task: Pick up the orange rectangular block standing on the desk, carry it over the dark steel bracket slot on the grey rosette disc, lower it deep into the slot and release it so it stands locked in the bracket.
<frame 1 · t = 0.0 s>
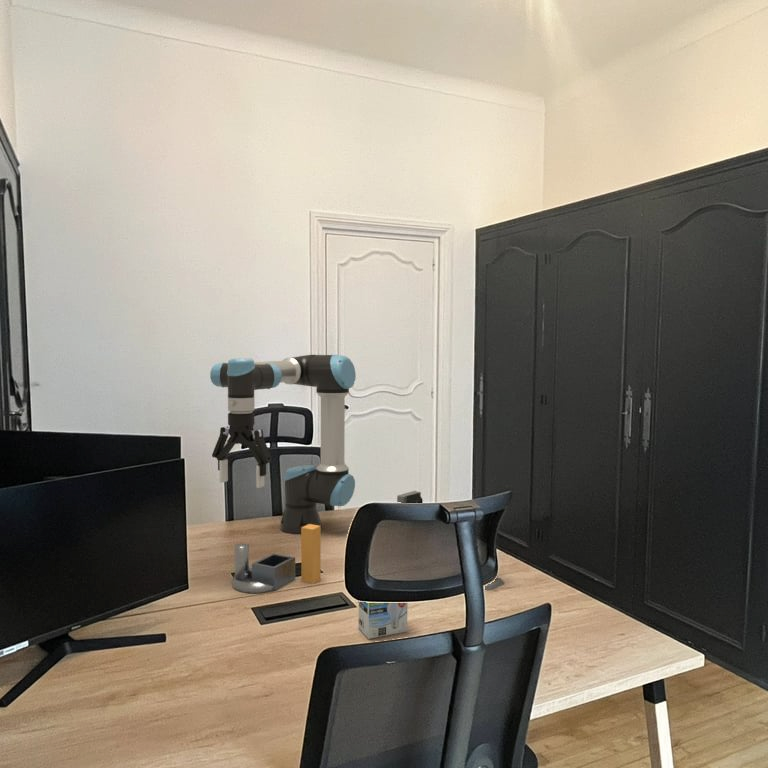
hand: (241, 484, 185), 28 cm above the table, fingers open, 13 cm apart
light bulb box: (382, 630, 155), on the table
orange rectangular block: (311, 580, 186), on the table
clamp: (449, 572, 193), on the table
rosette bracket: (258, 583, 183), on the table
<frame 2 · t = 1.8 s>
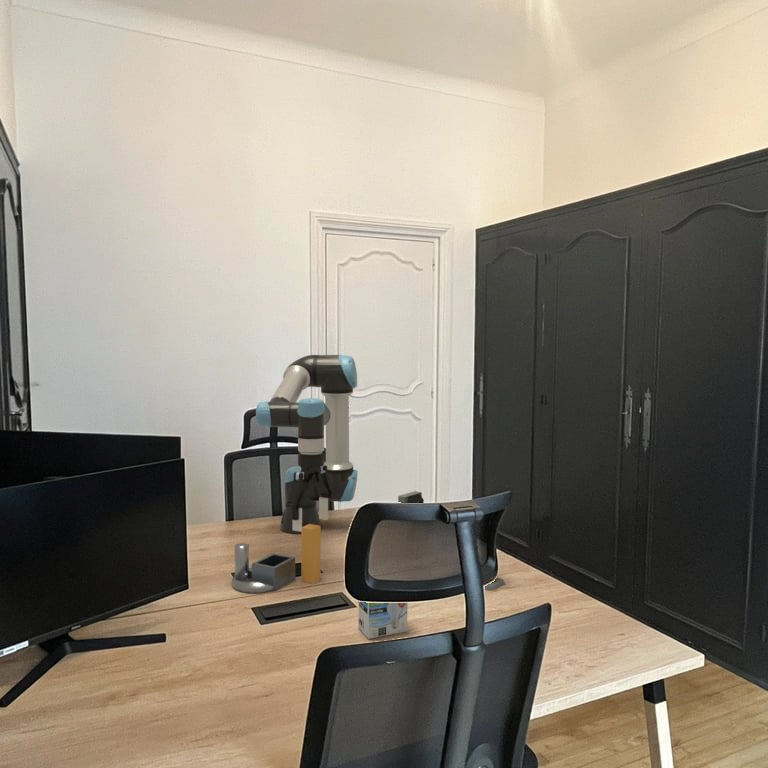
hand: (310, 524, 184), 17 cm above the table, fingers open, 13 cm apart
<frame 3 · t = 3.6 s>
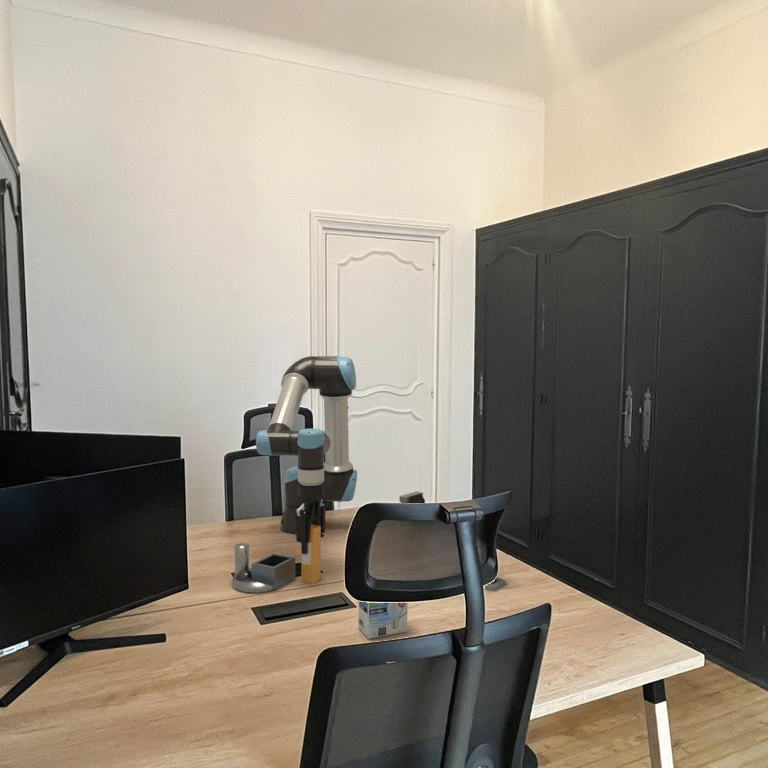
hand: (311, 561, 185), 6 cm above the table, fingers closed on orange rectangular block, 4 cm apart
orange rectangular block: (311, 580, 186), on the table, touching gripper
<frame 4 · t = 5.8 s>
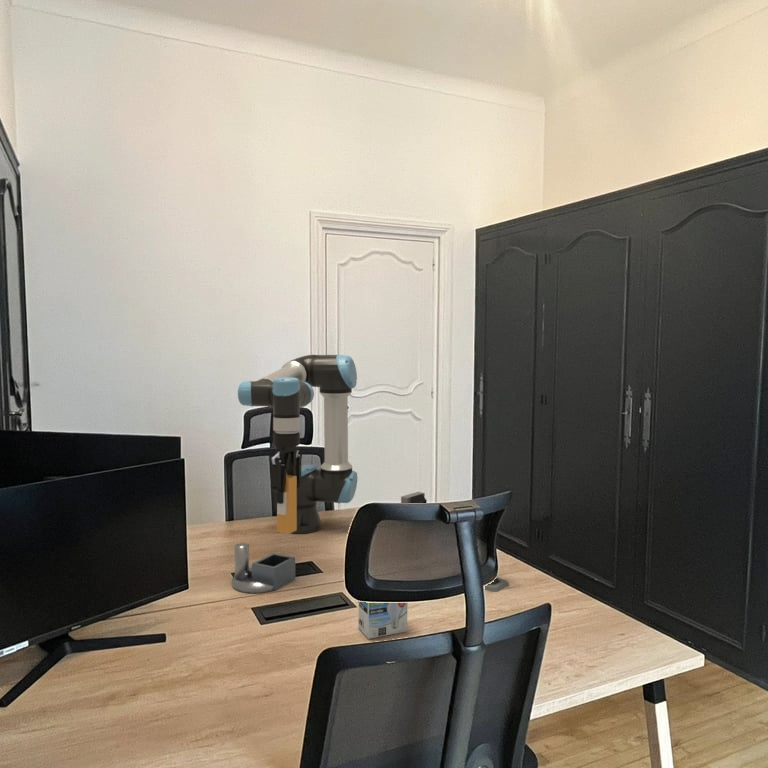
hand: (286, 511, 183), 21 cm above the table, fingers closed on orange rectangular block, 4 cm apart
orange rectangular block: (286, 531, 183), point 15 cm above the table, touching gripper
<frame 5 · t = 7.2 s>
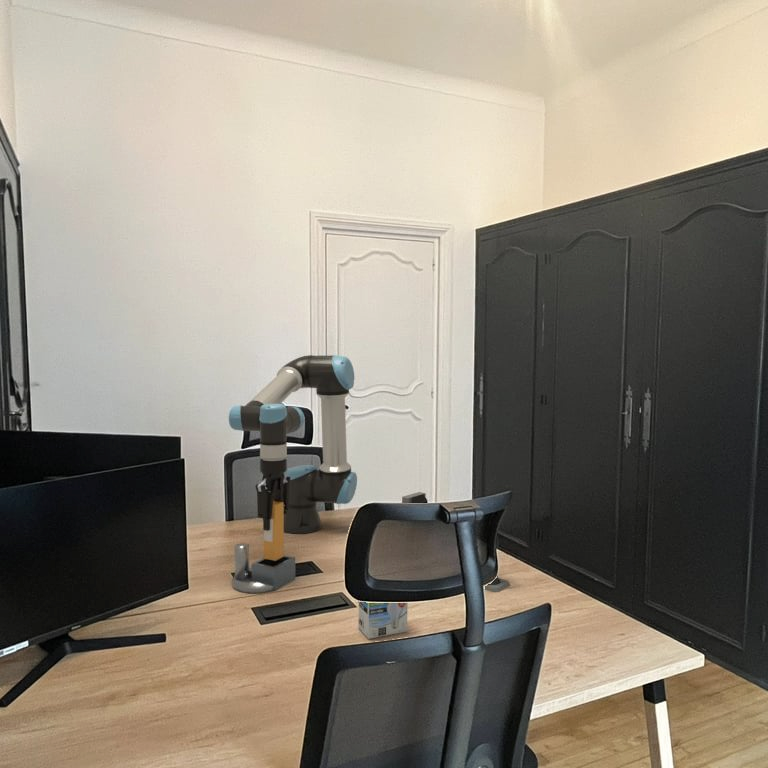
hand: (273, 538, 183), 13 cm above the table, fingers closed on orange rectangular block, 4 cm apart
orange rectangular block: (273, 557, 183), point 7 cm above the table, touching gripper
when the fingers open (8 cm above the table, at t = 8.4 s): orange rectangular block stays where it is, resting on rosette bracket.
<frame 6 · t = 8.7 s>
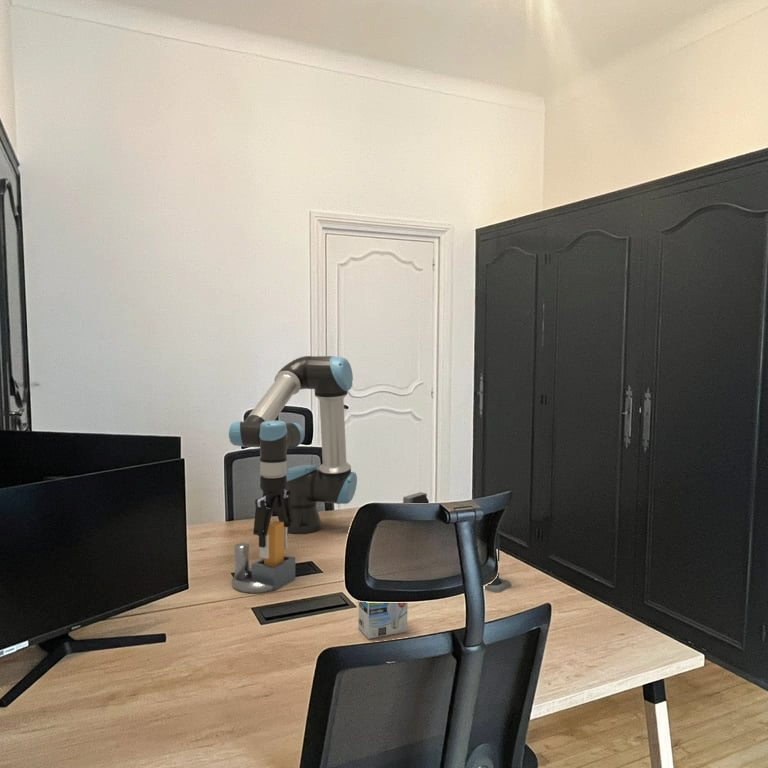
hand: (273, 552, 183), 9 cm above the table, fingers open, 8 cm apart
orange rectangular block: (274, 577, 184), point 1 cm above the table, touching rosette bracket
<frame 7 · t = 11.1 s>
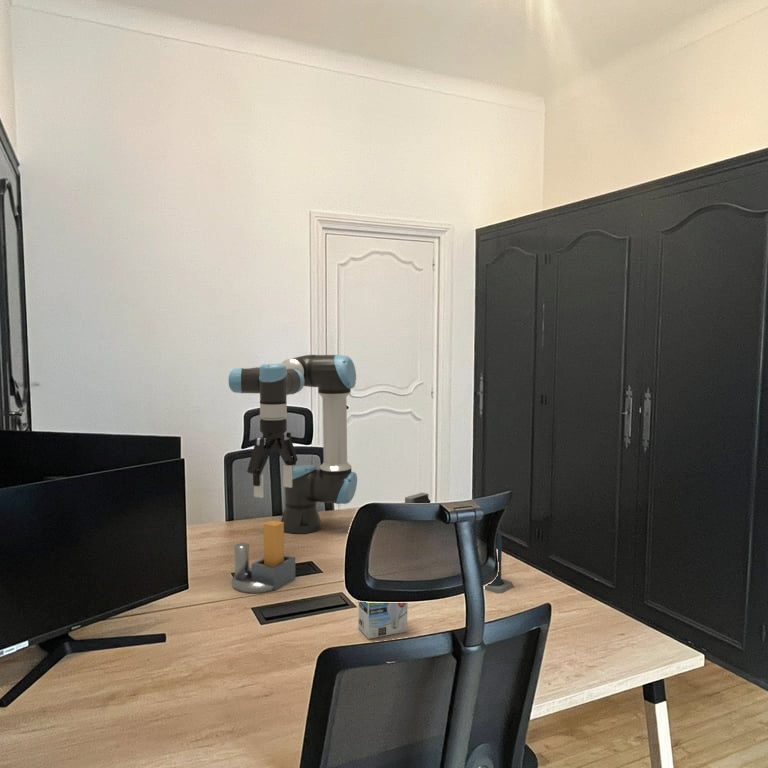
hand: (273, 491, 182), 27 cm above the table, fingers open, 13 cm apart
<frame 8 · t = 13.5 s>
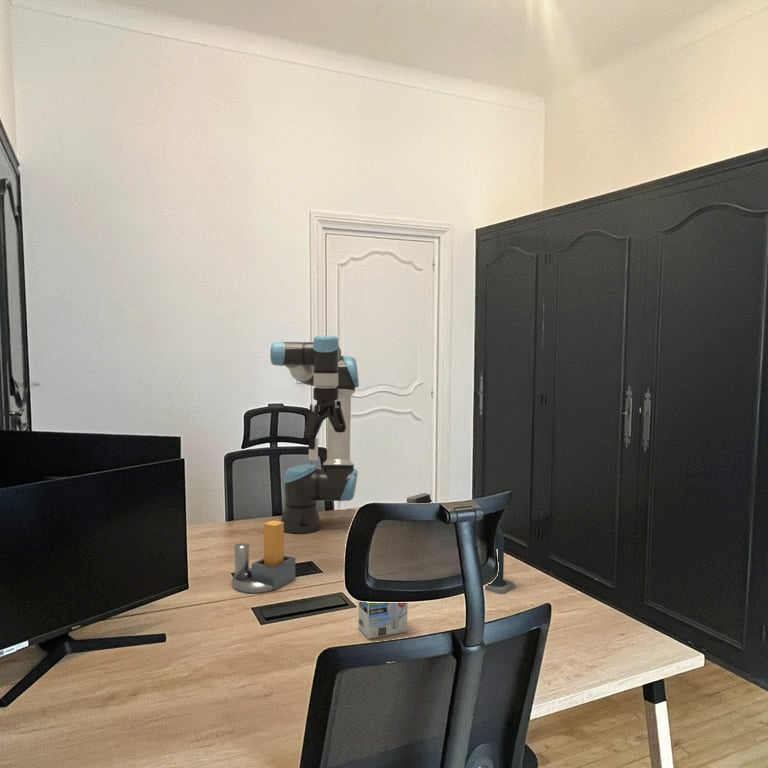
hand: (325, 456, 194), 35 cm above the table, fingers open, 13 cm apart
at the end: orange rectangular block 0.1 cm from the target spot on the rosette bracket, point 1.5 cm above the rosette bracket's base; orange rectangular block tilted 0°; the gripper is holding nothing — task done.
